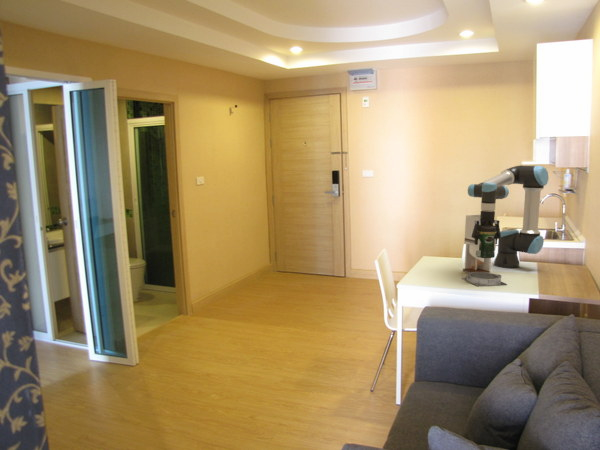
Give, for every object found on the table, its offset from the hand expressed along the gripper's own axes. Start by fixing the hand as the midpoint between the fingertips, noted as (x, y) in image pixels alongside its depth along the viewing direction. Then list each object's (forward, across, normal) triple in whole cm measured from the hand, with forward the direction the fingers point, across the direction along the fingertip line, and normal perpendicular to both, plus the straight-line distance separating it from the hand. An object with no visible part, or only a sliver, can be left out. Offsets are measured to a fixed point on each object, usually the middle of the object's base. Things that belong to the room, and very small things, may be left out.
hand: (485, 250), depth 283 cm
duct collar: (+18, 0, 0) cm, 18 cm away
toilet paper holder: (+18, -6, -19) cm, 27 cm away
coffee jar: (+4, 0, 0) cm, 4 cm away
